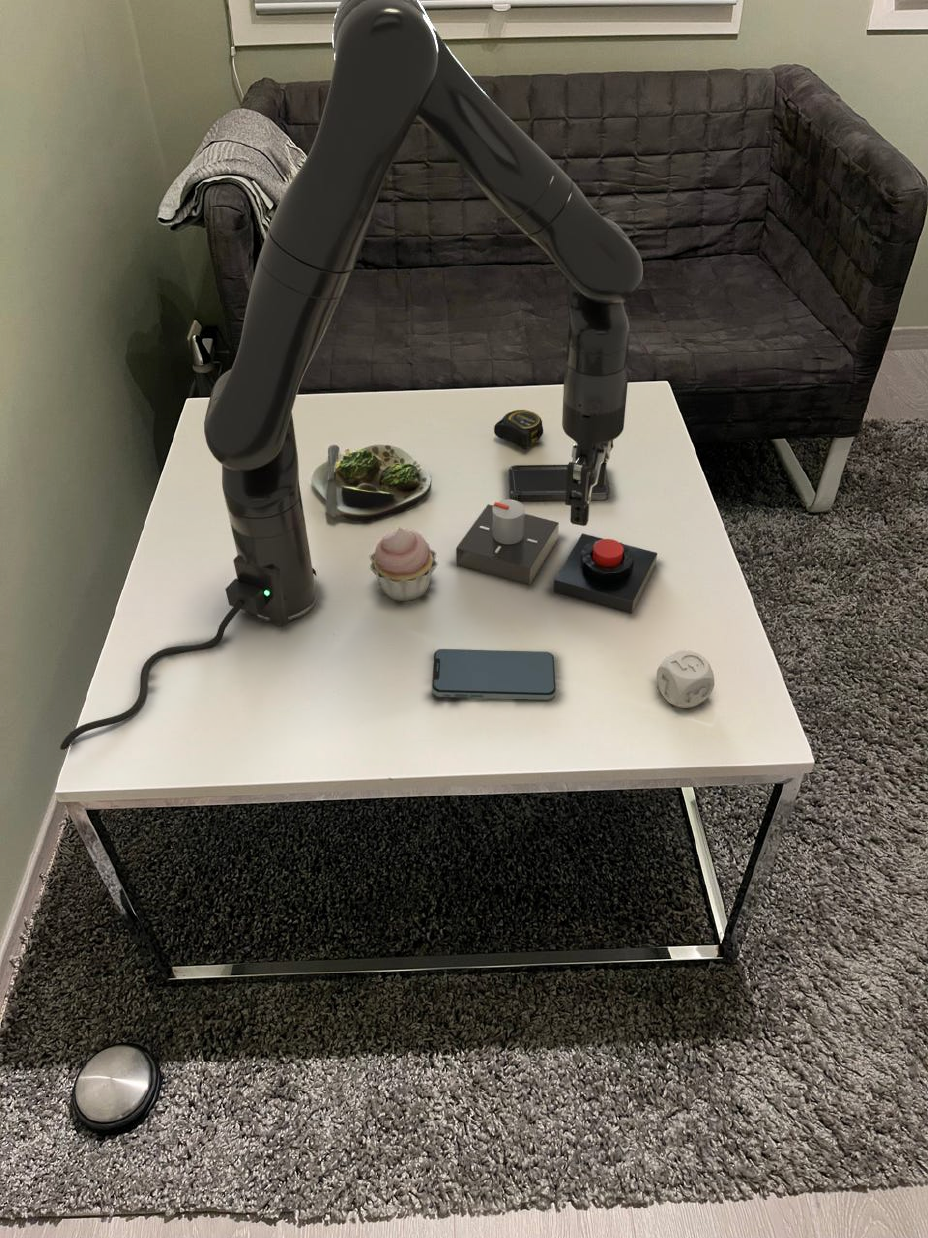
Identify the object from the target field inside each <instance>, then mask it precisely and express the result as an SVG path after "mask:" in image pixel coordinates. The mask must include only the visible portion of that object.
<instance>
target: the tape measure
mask: <svg viewBox="0 0 928 1238" xmlns="http://www.w3.org/2000/svg"><path fill="white" fill-rule="evenodd" d="M493 434H494V436H496V437H497V438H499V439H500V440H504V441H506V442H508V443H511V444H513V445H515V446H517V447H518V448H520V449H522V450H529V448H530V447H531V446H532V445H534V444H537V442H539V441H540V439H541V437H542V436H543V435H544V426H543V420H542V417H540V415H539V414H538V413H536V412H534V411H531V410H527V409H516V410H513V411H510V412H507V413H506V414H505V415H504V416H503V417H502V418H501V419H500V420H499V421H497V422H496V423H495V424H494V426H493Z"/></svg>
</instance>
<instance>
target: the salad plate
mask: <svg viewBox="0 0 928 1238" xmlns="http://www.w3.org/2000/svg"><path fill="white" fill-rule="evenodd" d="M344 453H345V454H343V453H341V450H340V447H339V445H337V444H331V445H329V446H328V448H327V460H326V461H324V462H322V463H320V464H319V465H318V466H317V467H316V468H314V470H313V472H312V474H311V477H310V480H311V484H312V485H313V487H314V489H315V490H316V492H317V493H318V494H319V495H320V496H321V497H322V498H323V499H324V500H325V505H324V506H325V511H326V514H327V515H329V516H331V517H332V518H334V517H337V516H339V517H344V518H346V519H348V520H352V521H359V522H369V521H377V520H380V519H383V518H387V517H390V516H393V515H396V514H398V513H401V512H402V513H403V512H404V511H406V510H409V509H411V508H413V507H415V506H416V505H417V504H419V503H420V502H421V501H422V500H423V499H425V498H426V497H427V495H428V494H429V492H430V491H431V488H432V482H433V481H432V476H431V474H430V472H429V471H428V470H426V468H424V467H423V466H422V465H421V464H420V463H419V462H418V461H417V460H415V459H414V458H413V457H412V455H410V454H409V453H408V452H407V451H405V450H404V448H402V447H400V446H397V445H393V444H384V443H383V444H380V443H379V444H372V445H369V446H365V447H362V448H361V449H356V450H354V451H350V449H348V448H347V449H345V450H344Z"/></svg>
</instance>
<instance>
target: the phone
mask: <svg viewBox="0 0 928 1238" xmlns="http://www.w3.org/2000/svg"><path fill="white" fill-rule="evenodd" d="M567 465H568V464H517V465H515V464H514V465H511V466H509V468H508V489H509V499H510V500H516V501H518V502H536V501H537V502H554V501H555V502H558V501H562V502H563V501H564V502H565V498H566V484H567ZM609 483H610V481H609V475H608V470H607V469H606V479H605V485H604V487H603V488H598V487H592V492H591V500H590V501H606V500H608V499H609V498H610V491H611V488H610V484H609ZM576 492H578V491H576ZM580 493H581V492H580Z"/></svg>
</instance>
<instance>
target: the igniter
mask: <svg viewBox="0 0 928 1238" xmlns="http://www.w3.org/2000/svg"><path fill="white" fill-rule="evenodd" d="M577 539H578V540H577V541H576V542H575V544H574V546H573V548H572V550H571V551H570V553H569V554H568V556H567V558H566V560H565V561H564V563H563V565H562V566H561V568H560V569H559V572H558V573H557V575H556V576H555V578H554V580H553V593H556V594H559V595H563V596H568V597H570V598H573V599H577V600H581V601H584V602H587V603H592V604H594V605H598V606H602V607H606V608H609V609H612V610H617V611H620V612H623V613H627V614H630V615H631V614H633V612H634V610H635V608H636V605H638V604H637V603H638V601H639V599H640V597H641V595H642V594H643V591H644V589H645V587H646V586H647V583H648V581H649V579H650V577H651V575H652V574H653V571H654V569H655V567H656V565H657V558H658V552H656V551H652V550H648V549H643V548H640V547H637V546H632V545H629V544H625V543H623V542H620V541H618V542H619V543H620V544H621V545H622V546H623V558H622V562H621V563H620V564H619V565H617V566H615V567H604V566H600V565H598V564H596V563H595V562H594V560H593V547H594V544H595V543H596V542H597V541H599V540H603V539H604V538H602V537H598V536H594V535H591V534H586V533H581V534H580V536H579V538H577Z"/></svg>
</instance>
